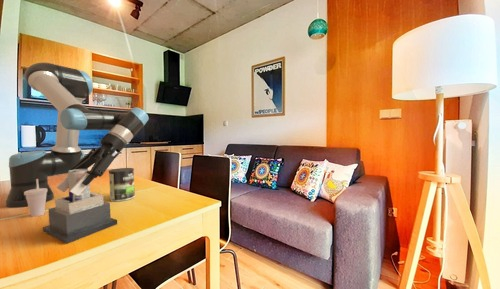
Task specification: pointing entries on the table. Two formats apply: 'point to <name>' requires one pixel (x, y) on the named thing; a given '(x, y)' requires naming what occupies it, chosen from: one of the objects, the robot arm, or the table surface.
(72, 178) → the energy drink
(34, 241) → the table surface
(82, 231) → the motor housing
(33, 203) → the smoothie
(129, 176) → the coffee can
